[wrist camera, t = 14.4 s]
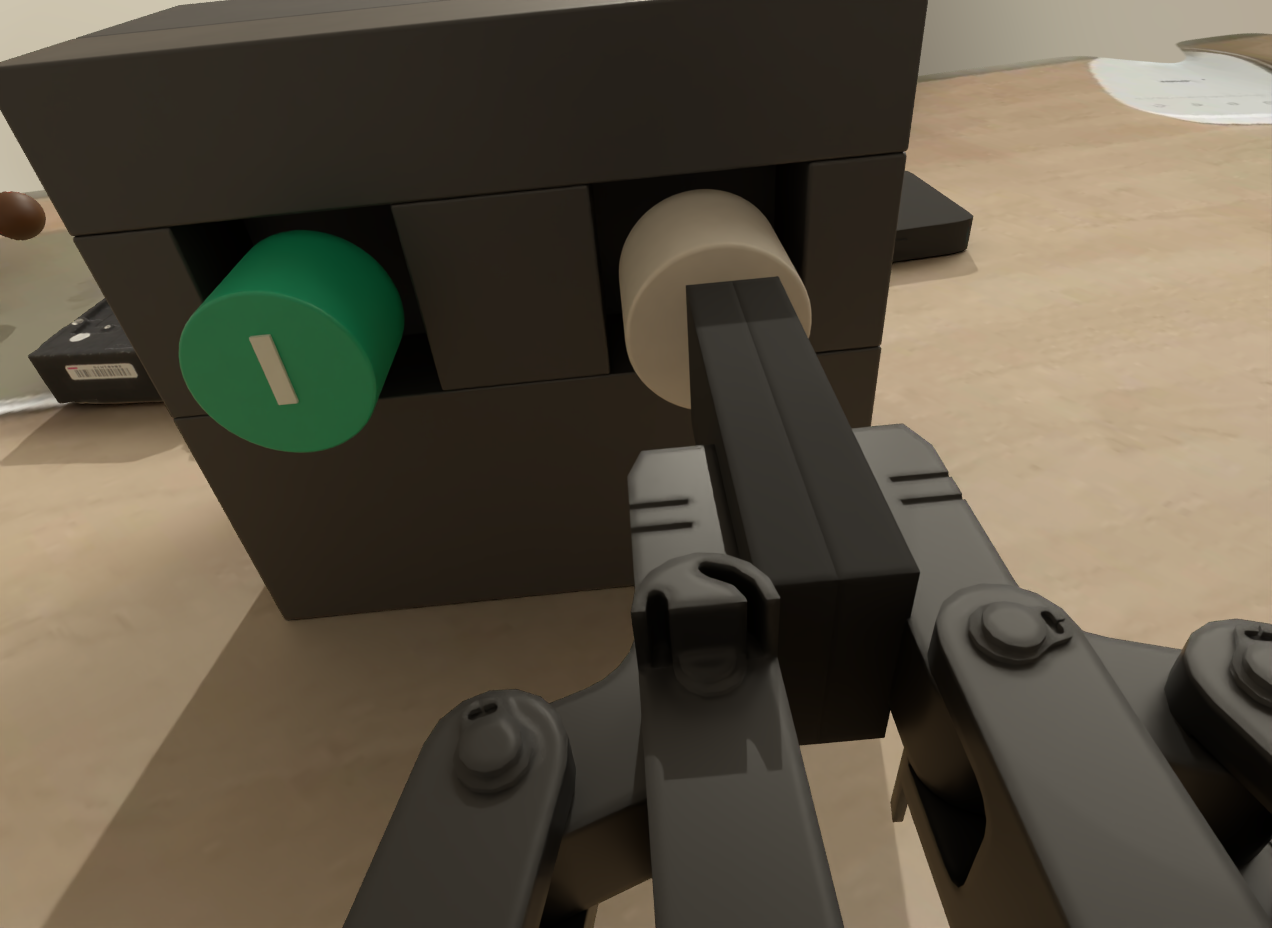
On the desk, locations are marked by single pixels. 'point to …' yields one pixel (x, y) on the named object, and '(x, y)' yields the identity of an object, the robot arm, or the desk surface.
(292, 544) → the dock
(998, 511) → the desk surface
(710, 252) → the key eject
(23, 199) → the toy figure
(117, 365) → the disk drive
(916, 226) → the smart home device
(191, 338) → the key power
